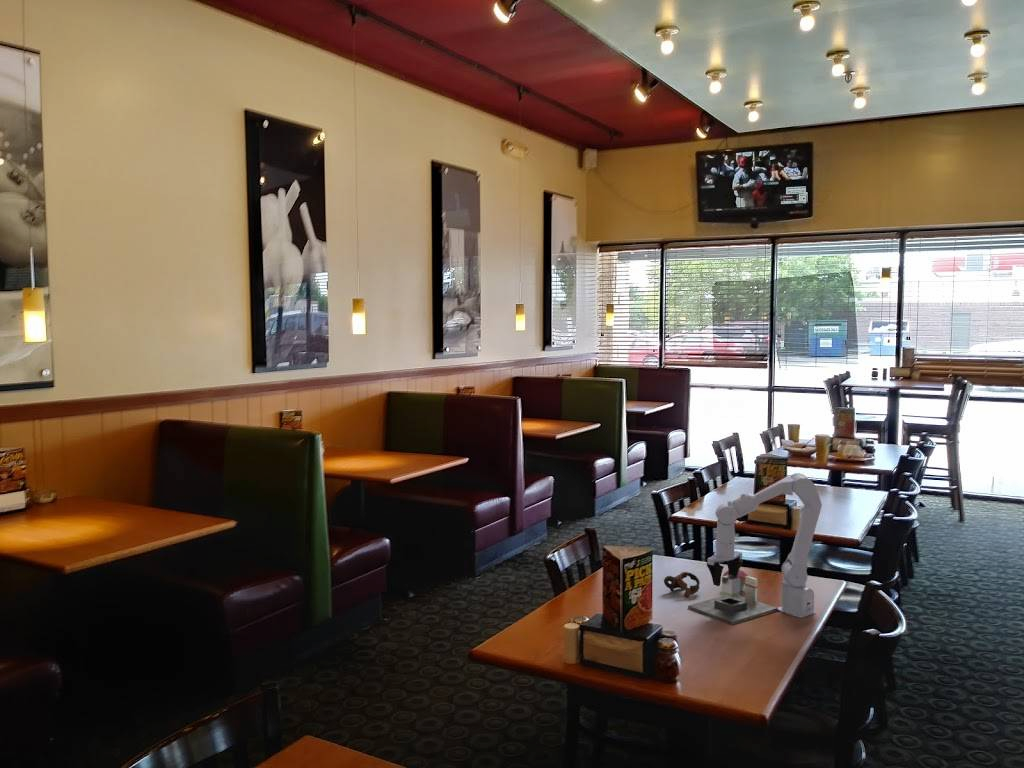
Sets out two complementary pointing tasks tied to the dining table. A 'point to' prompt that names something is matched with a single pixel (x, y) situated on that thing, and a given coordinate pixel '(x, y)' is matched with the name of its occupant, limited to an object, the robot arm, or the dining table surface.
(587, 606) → the dining table surface
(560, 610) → the dining table surface
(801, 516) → the robot arm
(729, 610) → the stand base
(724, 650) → the dining table surface
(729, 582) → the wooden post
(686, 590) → the broken terracotta ring
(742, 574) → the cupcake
